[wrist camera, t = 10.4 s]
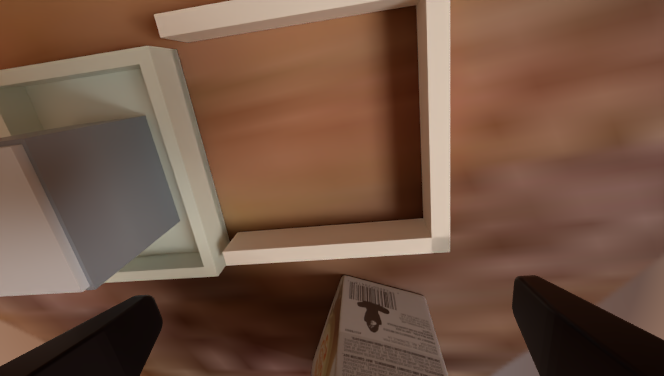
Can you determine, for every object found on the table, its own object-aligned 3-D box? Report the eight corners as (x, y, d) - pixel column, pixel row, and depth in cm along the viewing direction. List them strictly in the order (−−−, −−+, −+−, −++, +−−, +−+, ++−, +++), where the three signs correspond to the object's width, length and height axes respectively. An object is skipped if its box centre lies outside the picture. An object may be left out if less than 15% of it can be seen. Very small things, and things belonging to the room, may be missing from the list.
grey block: (145, 115, 18) (12, 140, 11) (180, 220, 20) (88, 295, 14) (71, 125, 19) (-97, 154, 12) (113, 226, 21) (-7, 300, 14)
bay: (436, -22, 15) (450, -39, 13) (439, 230, 20) (450, 251, 17) (182, 22, 17) (153, 14, 14) (241, 244, 21) (226, 265, 19)
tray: (176, 49, 17) (147, 45, 15) (233, 254, 22) (218, 276, 19) (18, 75, 19) (-32, 75, 16) (102, 263, 23) (73, 284, 21)
